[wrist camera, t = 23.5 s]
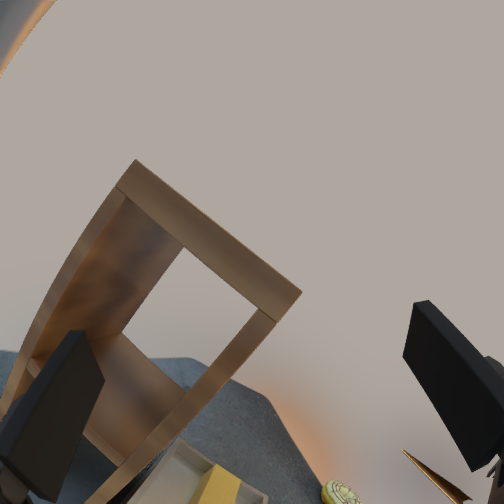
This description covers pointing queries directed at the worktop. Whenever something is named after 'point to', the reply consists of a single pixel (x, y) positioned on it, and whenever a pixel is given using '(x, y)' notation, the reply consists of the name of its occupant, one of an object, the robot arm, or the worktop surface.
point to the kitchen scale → (181, 479)
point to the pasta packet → (216, 487)
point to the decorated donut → (338, 494)
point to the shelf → (124, 307)
